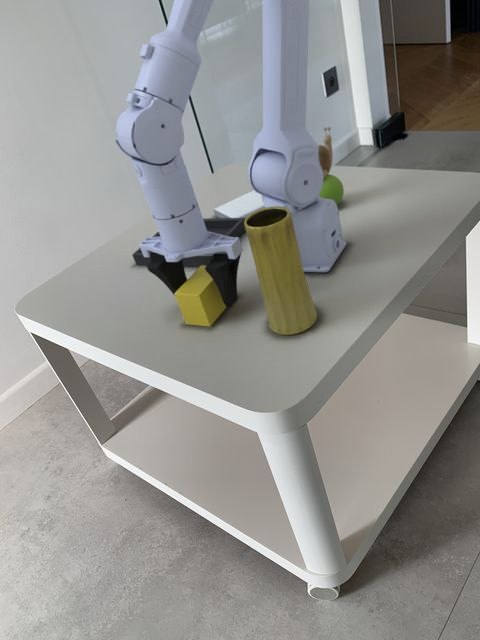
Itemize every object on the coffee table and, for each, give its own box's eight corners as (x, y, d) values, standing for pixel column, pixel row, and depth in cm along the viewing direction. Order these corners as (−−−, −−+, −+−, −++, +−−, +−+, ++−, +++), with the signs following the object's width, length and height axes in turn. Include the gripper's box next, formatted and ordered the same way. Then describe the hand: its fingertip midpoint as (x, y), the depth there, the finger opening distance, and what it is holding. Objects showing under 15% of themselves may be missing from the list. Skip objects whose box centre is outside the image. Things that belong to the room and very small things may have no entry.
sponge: (235, 296, 77) (225, 266, 74) (210, 326, 73) (198, 295, 70) (211, 295, 79) (200, 265, 76) (186, 324, 75) (173, 293, 72)
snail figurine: (353, 197, 94) (342, 125, 86) (337, 214, 90) (324, 141, 83) (325, 196, 97) (312, 127, 89) (308, 213, 93) (293, 142, 86)
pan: (248, 228, 94) (245, 217, 93) (212, 267, 86) (208, 256, 85) (176, 228, 102) (172, 218, 100) (136, 265, 93) (131, 254, 92)
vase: (314, 334, 66) (289, 225, 57) (265, 337, 68) (234, 233, 59) (320, 304, 70) (297, 200, 62) (274, 309, 72) (246, 208, 64)
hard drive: (215, 216, 102) (270, 189, 105) (236, 227, 96) (294, 198, 99) (212, 208, 101) (269, 181, 104) (233, 219, 95) (292, 190, 98)
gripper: (111, 225, 68) (150, 314, 76) (207, 224, 61) (240, 322, 69) (143, 199, 73) (177, 286, 81) (237, 195, 66) (264, 291, 74)
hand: (208, 301), depth 75 cm, fingers open, 7 cm apart
